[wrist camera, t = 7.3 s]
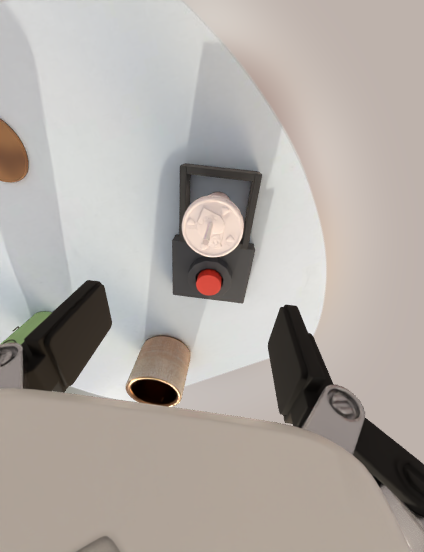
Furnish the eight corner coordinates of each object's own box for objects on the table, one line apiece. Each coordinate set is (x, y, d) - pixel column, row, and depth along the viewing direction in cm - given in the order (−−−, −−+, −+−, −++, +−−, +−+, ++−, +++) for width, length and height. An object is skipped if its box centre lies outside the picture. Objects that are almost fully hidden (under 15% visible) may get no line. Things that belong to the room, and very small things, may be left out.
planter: (190, 368, 50) (182, 411, 42) (145, 363, 51) (129, 404, 43) (191, 337, 44) (182, 380, 36) (140, 331, 45) (120, 372, 37)
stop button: (198, 267, 31) (196, 273, 30) (222, 270, 31) (222, 276, 29) (197, 287, 33) (195, 294, 32) (220, 290, 33) (219, 297, 31)
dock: (184, 163, 27) (179, 165, 25) (259, 171, 27) (262, 174, 24) (183, 234, 32) (179, 242, 30) (246, 241, 32) (247, 250, 30)
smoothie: (233, 173, 27) (234, 198, 15) (246, 220, 30) (254, 270, 19) (188, 190, 29) (157, 223, 17) (204, 233, 32) (187, 286, 20)
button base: (175, 234, 32) (169, 245, 29) (253, 243, 32) (256, 255, 29) (175, 287, 38) (170, 301, 34) (242, 295, 38) (243, 310, 34)
